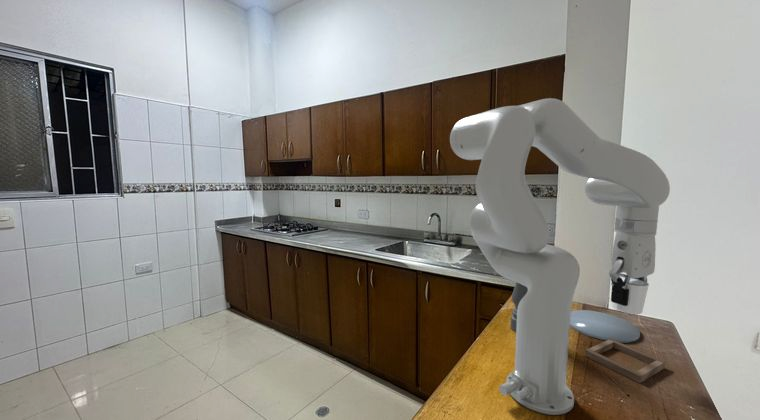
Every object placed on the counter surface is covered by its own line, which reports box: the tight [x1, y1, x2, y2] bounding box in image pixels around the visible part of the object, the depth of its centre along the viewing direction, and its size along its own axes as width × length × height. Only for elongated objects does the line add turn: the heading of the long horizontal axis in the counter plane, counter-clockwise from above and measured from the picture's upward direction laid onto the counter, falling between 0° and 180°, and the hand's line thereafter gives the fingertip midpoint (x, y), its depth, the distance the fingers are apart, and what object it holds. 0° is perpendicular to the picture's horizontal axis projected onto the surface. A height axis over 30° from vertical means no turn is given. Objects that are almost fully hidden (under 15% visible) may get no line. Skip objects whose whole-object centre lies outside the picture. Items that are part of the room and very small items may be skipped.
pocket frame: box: [584, 339, 666, 384], centre depth 75 cm, size 12×12×2 cm
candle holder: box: [510, 282, 528, 333], centre depth 90 cm, size 6×6×25 cm
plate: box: [569, 309, 641, 344], centre depth 92 cm, size 18×18×1 cm
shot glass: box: [611, 277, 650, 315], centre depth 73 cm, size 7×7×7 cm
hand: (627, 300), depth 73 cm, fingers closed on shot glass, 6 cm apart
